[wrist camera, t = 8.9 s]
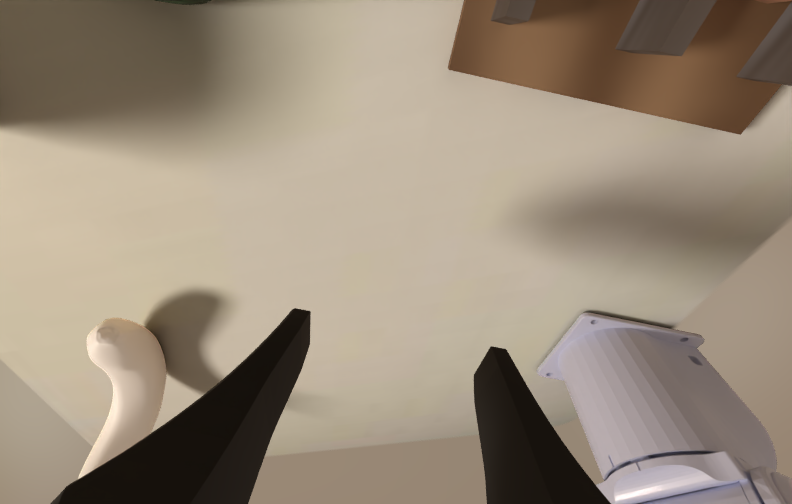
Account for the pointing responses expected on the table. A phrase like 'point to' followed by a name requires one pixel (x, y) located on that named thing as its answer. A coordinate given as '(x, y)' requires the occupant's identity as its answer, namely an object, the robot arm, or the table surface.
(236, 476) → the robot arm
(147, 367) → the banana
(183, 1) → the coffee jar
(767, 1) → the salmon rectangular prism
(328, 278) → the table surface
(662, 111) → the slot rack
